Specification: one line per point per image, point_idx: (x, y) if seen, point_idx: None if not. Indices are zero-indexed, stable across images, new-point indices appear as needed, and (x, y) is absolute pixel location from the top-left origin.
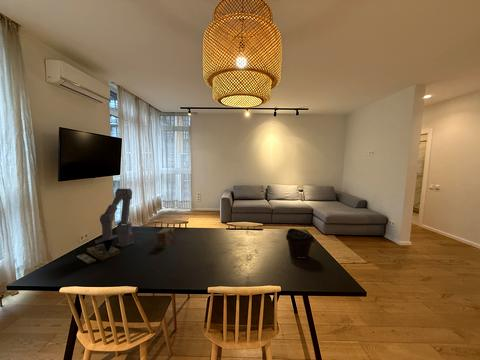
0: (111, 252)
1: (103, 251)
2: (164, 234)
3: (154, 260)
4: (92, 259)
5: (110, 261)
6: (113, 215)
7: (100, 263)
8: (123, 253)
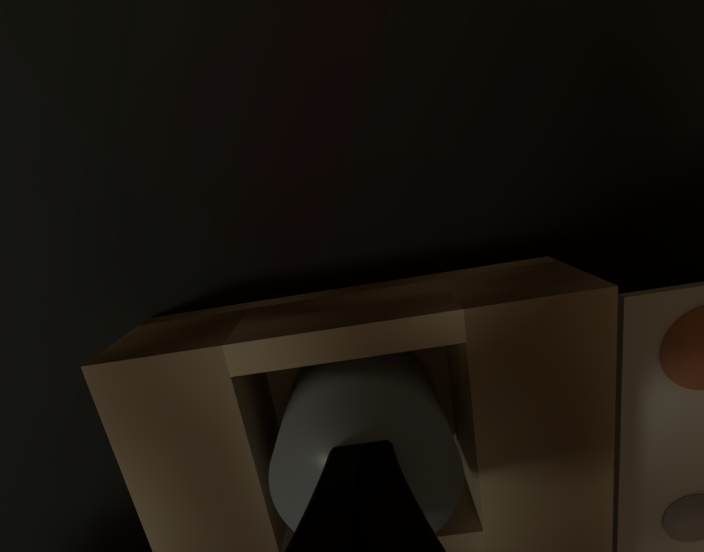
0: (311, 328)
1: None
2: None
3: None
4: (653, 391)
5: (432, 8)
6: None
7: (633, 72)
8: (70, 275)
